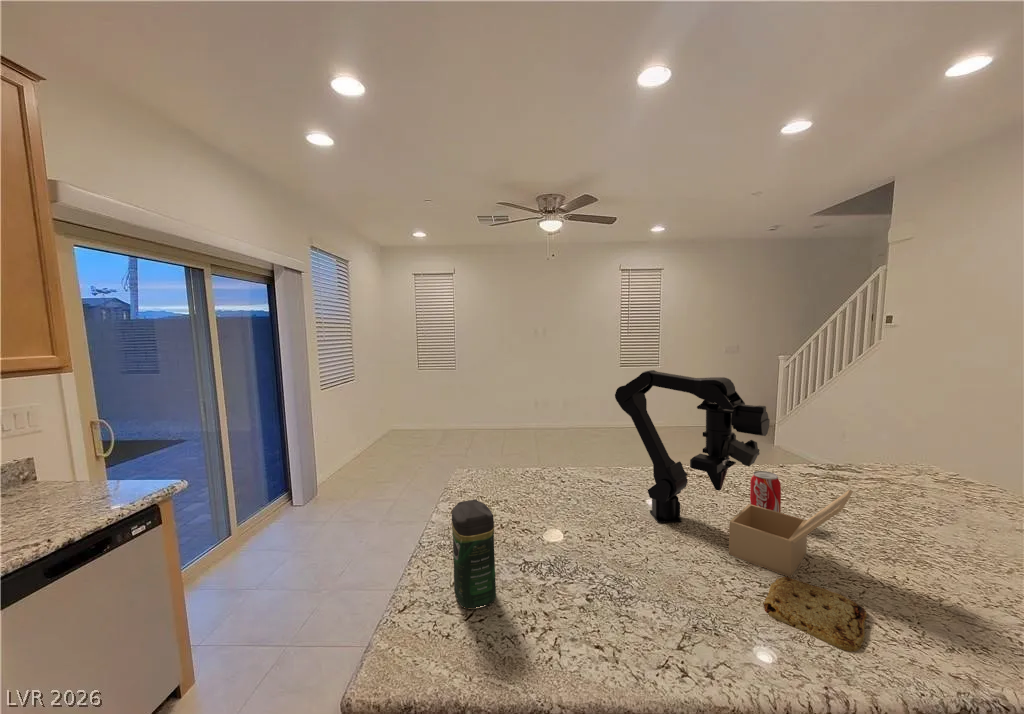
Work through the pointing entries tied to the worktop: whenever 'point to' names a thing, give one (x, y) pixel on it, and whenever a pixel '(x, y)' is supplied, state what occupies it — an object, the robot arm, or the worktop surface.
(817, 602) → the pastry
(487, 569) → the coffee jar
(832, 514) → the lid flap
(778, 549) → the carton
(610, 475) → the worktop surface
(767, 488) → the soda can
